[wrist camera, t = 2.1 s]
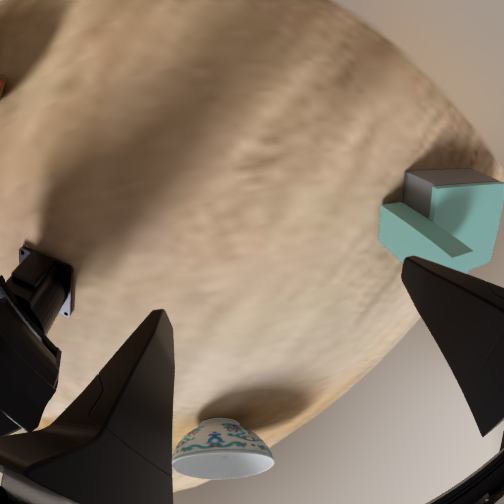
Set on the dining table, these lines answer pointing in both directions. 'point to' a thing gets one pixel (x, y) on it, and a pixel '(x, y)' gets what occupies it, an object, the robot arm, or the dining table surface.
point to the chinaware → (221, 451)
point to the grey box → (423, 180)
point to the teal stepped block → (446, 226)
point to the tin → (2, 83)
